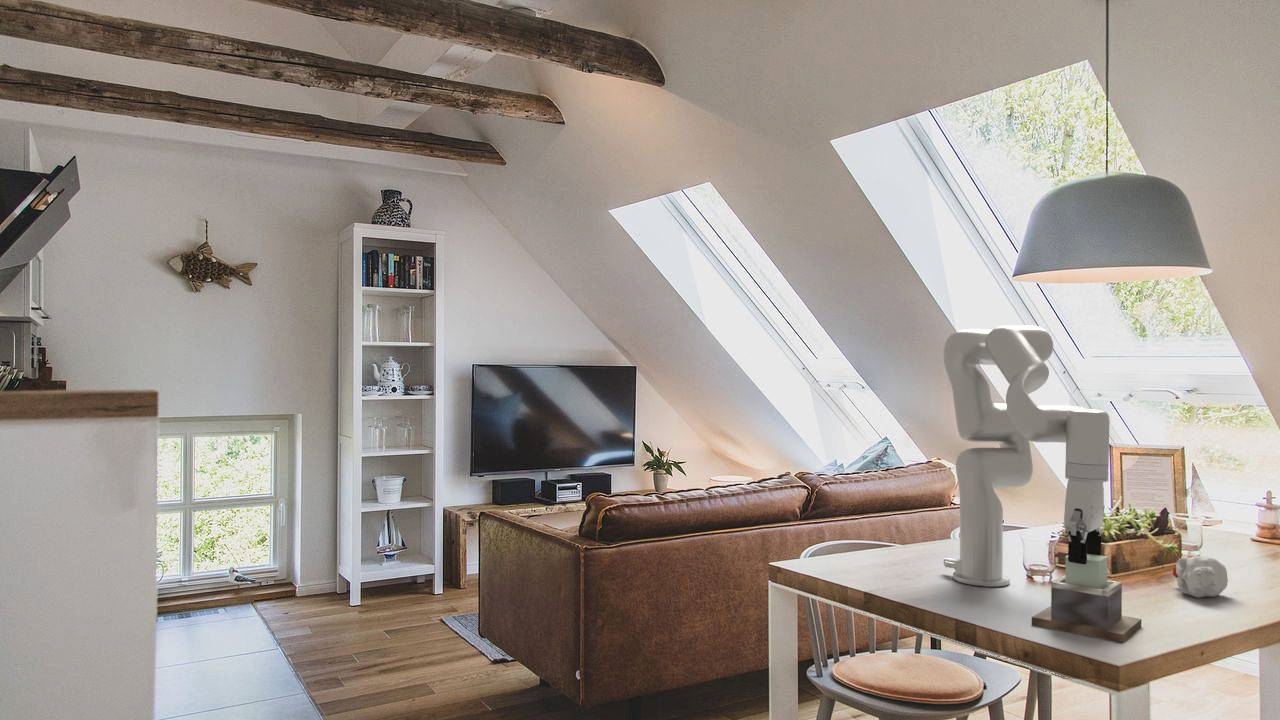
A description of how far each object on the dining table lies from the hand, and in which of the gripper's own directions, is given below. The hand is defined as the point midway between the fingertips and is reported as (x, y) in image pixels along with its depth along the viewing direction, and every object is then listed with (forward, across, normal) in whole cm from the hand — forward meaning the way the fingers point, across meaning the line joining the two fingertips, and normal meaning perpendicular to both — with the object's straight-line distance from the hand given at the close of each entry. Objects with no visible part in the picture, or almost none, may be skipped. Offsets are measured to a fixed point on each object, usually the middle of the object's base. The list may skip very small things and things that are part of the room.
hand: (1084, 558), depth 169 cm
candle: (+14, -46, +12) cm, 49 cm away
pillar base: (+13, 0, +1) cm, 13 cm away
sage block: (+5, 0, 0) cm, 5 cm away
